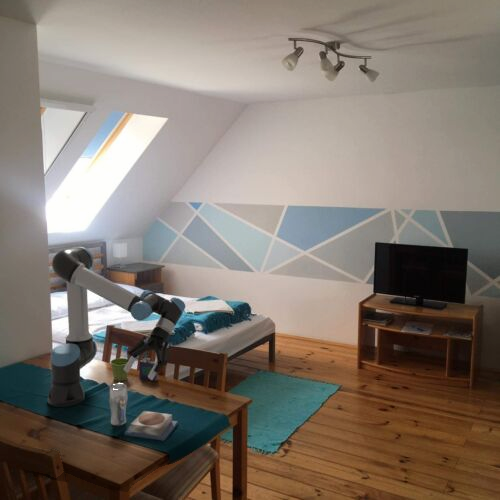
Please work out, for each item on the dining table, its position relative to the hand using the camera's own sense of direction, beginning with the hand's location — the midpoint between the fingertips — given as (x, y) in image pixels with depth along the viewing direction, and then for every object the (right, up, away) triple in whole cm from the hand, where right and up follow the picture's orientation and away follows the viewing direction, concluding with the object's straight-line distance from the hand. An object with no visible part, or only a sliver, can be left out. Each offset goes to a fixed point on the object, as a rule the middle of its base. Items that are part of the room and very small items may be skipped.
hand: (137, 374), depth 222 cm
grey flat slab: (+8, -18, -12) cm, 23 cm away
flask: (-3, -11, +39) cm, 40 cm away
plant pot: (-16, -11, +39) cm, 43 cm away
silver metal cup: (-6, -18, -6) cm, 20 cm away
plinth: (+8, -17, -12) cm, 22 cm away
